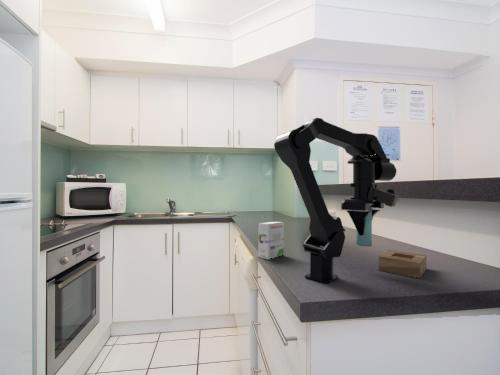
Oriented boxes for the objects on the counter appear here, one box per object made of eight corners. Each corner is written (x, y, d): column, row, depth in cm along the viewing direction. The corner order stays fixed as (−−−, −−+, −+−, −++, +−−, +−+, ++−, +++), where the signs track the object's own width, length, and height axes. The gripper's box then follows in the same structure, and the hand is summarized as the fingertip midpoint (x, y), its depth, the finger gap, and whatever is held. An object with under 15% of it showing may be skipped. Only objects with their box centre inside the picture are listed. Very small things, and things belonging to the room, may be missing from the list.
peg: (369, 247, 69) (369, 210, 70) (354, 245, 72) (354, 210, 72) (373, 245, 72) (373, 210, 73) (359, 243, 75) (359, 209, 75)
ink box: (273, 253, 92) (273, 220, 92) (284, 255, 89) (284, 222, 89) (257, 257, 86) (257, 222, 86) (268, 260, 83) (268, 223, 83)
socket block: (420, 278, 66) (420, 263, 66) (378, 270, 73) (378, 256, 73) (426, 268, 75) (426, 255, 75) (389, 262, 82) (389, 249, 82)
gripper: (386, 177, 60) (386, 242, 60) (402, 180, 74) (403, 233, 74) (340, 178, 68) (340, 237, 67) (363, 181, 82) (363, 230, 81)
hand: (363, 234), depth 72 cm, fingers closed on peg, 4 cm apart
